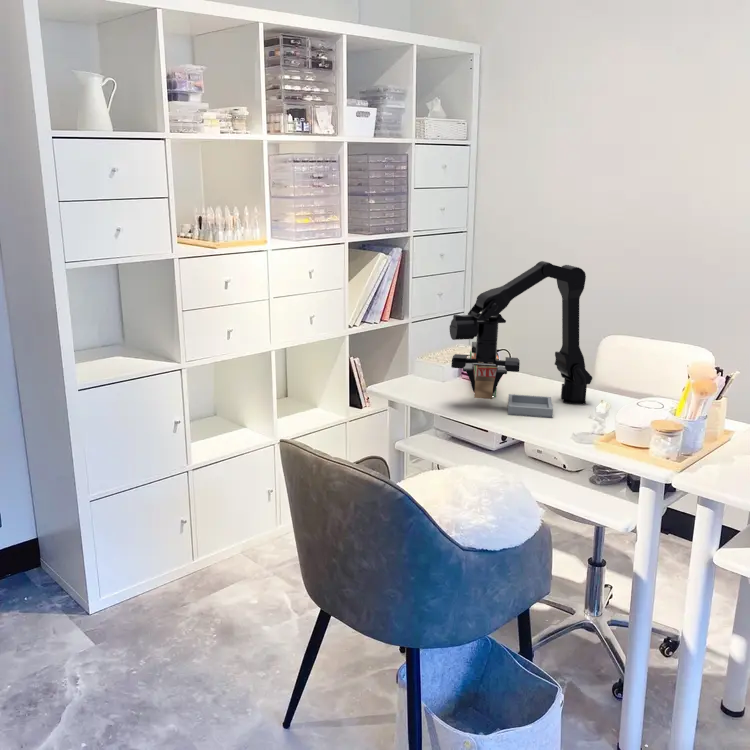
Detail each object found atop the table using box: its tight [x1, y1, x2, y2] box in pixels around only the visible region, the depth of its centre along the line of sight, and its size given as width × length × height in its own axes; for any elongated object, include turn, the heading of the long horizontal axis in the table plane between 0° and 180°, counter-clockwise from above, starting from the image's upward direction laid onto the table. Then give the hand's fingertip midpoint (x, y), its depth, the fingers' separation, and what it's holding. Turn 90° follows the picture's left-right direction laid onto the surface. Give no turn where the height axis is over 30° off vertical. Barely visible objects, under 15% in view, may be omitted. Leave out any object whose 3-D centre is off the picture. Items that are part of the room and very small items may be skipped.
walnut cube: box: [473, 376, 494, 400], centre depth 218 cm, size 5×5×5 cm
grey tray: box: [507, 393, 554, 419], centre depth 217 cm, size 12×12×2 cm
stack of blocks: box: [469, 350, 500, 398], centre depth 238 cm, size 21×6×12 cm, turn 179°
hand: (483, 392), depth 219 cm, fingers closed on walnut cube, 5 cm apart
